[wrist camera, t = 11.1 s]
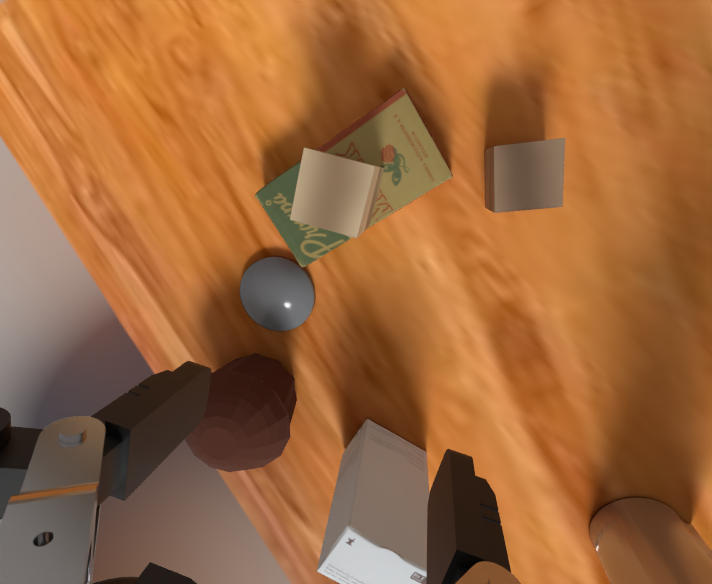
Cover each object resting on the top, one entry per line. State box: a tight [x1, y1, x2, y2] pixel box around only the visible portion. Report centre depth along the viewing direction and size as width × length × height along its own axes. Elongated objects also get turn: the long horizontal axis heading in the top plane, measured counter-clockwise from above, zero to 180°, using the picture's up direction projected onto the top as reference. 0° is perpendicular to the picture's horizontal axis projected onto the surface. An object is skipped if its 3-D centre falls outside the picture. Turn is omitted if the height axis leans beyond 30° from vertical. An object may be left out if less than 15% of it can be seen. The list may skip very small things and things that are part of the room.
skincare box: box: [317, 419, 429, 584], centre depth 38 cm, size 8×6×15 cm
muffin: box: [185, 353, 297, 472], centre depth 41 cm, size 12×11×10 cm
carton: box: [255, 88, 453, 267], centre depth 36 cm, size 8×16×4 cm, turn 123°
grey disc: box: [240, 256, 315, 331], centre depth 41 cm, size 8×8×1 cm
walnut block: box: [484, 138, 565, 213], centre depth 33 cm, size 5×5×5 cm
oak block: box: [290, 148, 384, 238], centre depth 31 cm, size 5×5×7 cm
